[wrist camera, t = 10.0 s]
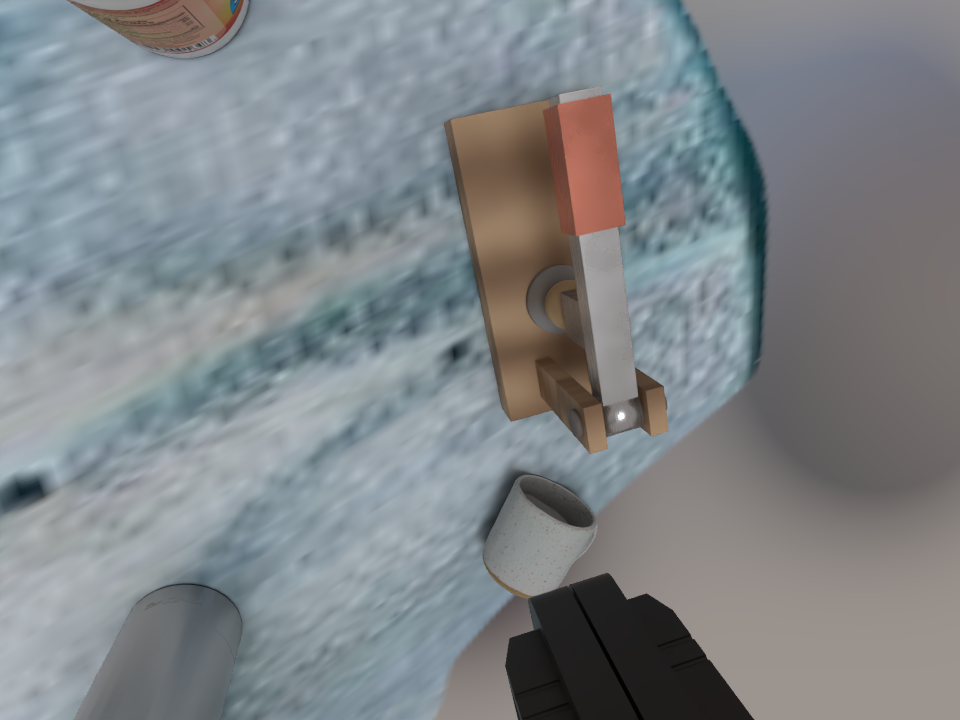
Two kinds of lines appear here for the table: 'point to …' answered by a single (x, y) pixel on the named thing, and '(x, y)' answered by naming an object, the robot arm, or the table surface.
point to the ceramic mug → (537, 536)
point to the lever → (594, 248)
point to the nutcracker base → (528, 273)
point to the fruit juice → (171, 23)
